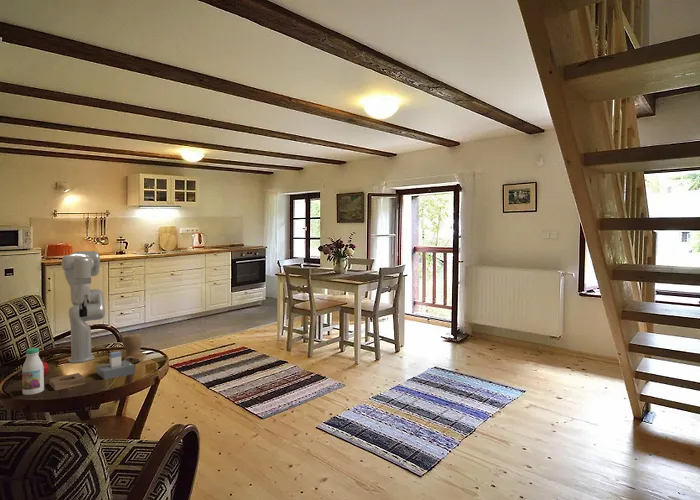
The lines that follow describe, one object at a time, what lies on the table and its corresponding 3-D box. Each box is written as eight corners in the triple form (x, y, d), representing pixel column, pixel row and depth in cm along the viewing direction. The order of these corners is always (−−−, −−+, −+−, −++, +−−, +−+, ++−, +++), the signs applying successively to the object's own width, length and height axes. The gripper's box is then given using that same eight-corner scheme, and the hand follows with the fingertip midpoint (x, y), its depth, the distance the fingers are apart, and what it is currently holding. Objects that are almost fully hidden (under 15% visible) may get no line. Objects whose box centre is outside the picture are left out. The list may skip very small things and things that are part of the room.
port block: (96, 374, 209) (96, 365, 208) (126, 368, 219) (126, 359, 219) (104, 380, 200) (104, 370, 200) (134, 373, 211) (134, 364, 211)
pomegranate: (42, 372, 213) (42, 354, 213) (53, 374, 209) (53, 356, 209) (20, 377, 204) (20, 359, 204) (31, 380, 200) (31, 361, 200)
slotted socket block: (49, 385, 194) (49, 379, 194) (78, 378, 203) (78, 372, 203) (55, 391, 186) (55, 385, 186) (85, 384, 195) (85, 378, 194)
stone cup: (126, 356, 240) (126, 331, 239) (148, 355, 242) (147, 330, 242) (117, 364, 225) (116, 337, 224) (140, 363, 227) (140, 336, 227)
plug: (109, 373, 209) (109, 352, 209) (119, 371, 212) (119, 351, 212) (111, 374, 207) (111, 354, 207) (121, 372, 210) (121, 352, 210)
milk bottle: (30, 389, 188) (29, 346, 188) (48, 389, 189) (47, 346, 188) (18, 396, 181) (17, 351, 180) (36, 395, 181) (35, 351, 180)
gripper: (70, 280, 214) (70, 315, 214) (78, 283, 204) (78, 319, 204) (86, 279, 219) (87, 313, 220) (95, 281, 209) (95, 317, 210)
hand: (83, 316), depth 212 cm, fingers closed
